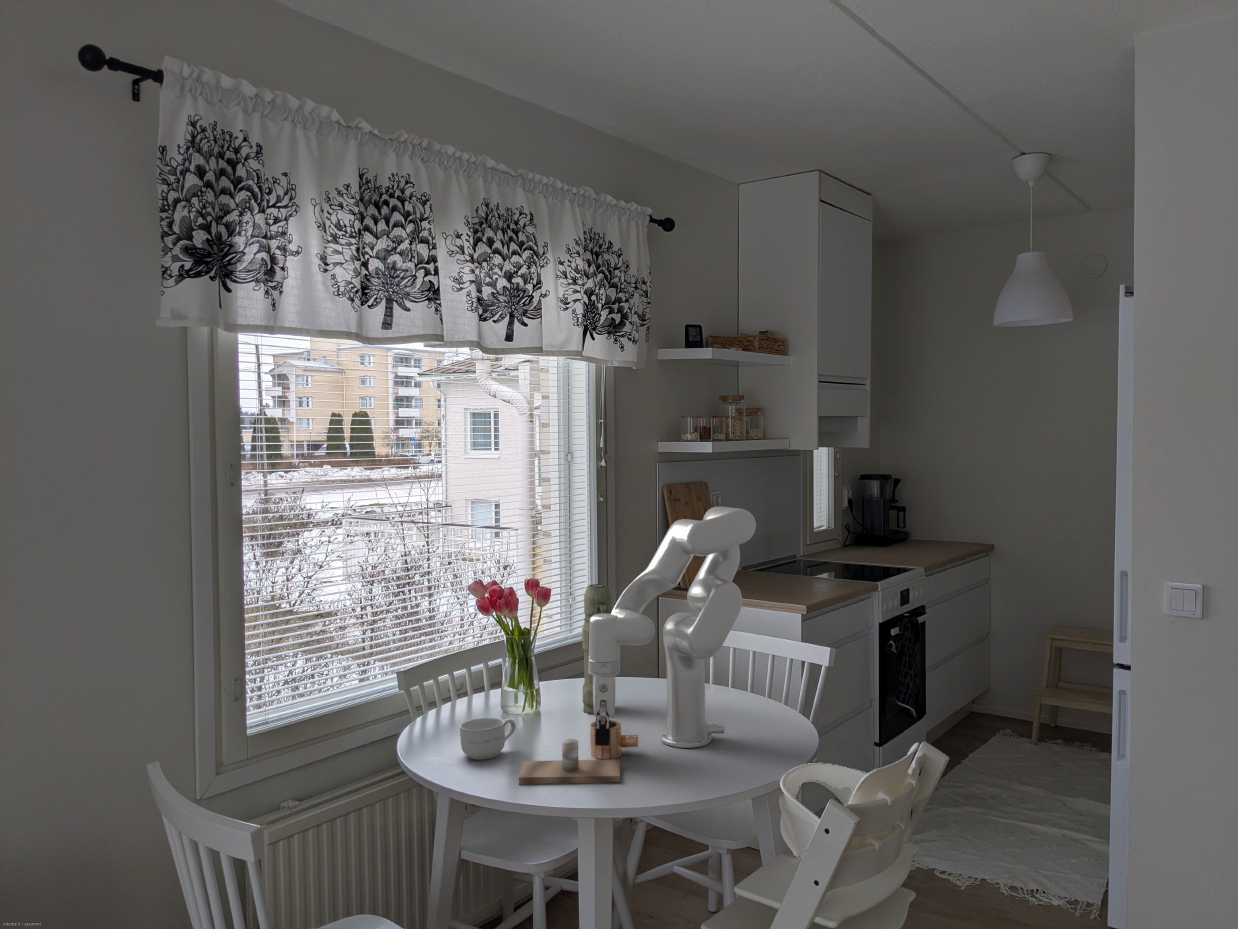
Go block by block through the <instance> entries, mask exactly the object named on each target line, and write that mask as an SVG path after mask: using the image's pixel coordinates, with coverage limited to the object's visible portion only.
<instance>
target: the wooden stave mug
mask: <svg viewBox="0 0 1238 929" xmlns="http://www.w3.org/2000/svg"><path fill="white" fill-rule="evenodd" d="M596 728H597V721H596V720H595V721H593V722H592V723H590V756H591V757H592V756H593V757H592V758H595V759H597V758H598V759H597V760H615V759H617V758H618V759H619V758H620V757H621V756H622V748H639V735H638V734H622V723H621V722H619V721H616V720H611V719H609V728H610V731H609V745H608V746H598V745H596V744H595V740H596Z"/></svg>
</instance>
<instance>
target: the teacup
mask: <svg viewBox="0 0 1238 929" xmlns="http://www.w3.org/2000/svg"><path fill="white" fill-rule="evenodd" d="M507 724H510V729H508V731H507V733H506V732H505V728H506V726H507ZM515 730H516V722H515V720H514V719H512V718H510V717H509V718H504V719H502V718H500V717H499V718H498V717H491V716H490V717H478V718H472V719H469V720H465V721H464V722H462V723H460V724H459V733H460V734H459V736H460V746H461V751H462V752H463V754H464V755H466V756H467V757H469V758H470V759H472V760H477V761H478V760H479V761H480V760H481V761H483V760H489V759H493V758H496V757H497V756H498V755H499V753H501V751H502V750H503V749H504V748H505V745H506V744H505V743H506V742H507V740H508V739H509V738H511V736H512V735H513V734H514V733H515Z"/></svg>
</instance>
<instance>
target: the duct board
mask: <svg viewBox="0 0 1238 929" xmlns="http://www.w3.org/2000/svg"><path fill="white" fill-rule="evenodd" d="M561 758H562V759H561V760H559V759H558V760H523V761H522V764H521V769H520V771H519V774H518V775H519V776H518V785H546V784H545V783H569V784H609V782H620V783H621V771H620V770H621V769H620V759H579V740H578V739H576V738H566V739H563V740H562V741H561Z"/></svg>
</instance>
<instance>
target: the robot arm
mask: <svg viewBox="0 0 1238 929" xmlns="http://www.w3.org/2000/svg"><path fill="white" fill-rule="evenodd" d="M756 528H757V523H756V519H755V516H753V514H752V513H751V512H750V511H749V510H746V509H744V508H738V507H728V506H713V507H711V508H709V509H707V511H706V512H705V514H704V515H703V519H702V520H697V519H687V518H682V519H677V520H675V521H674V522H673V523H672V524H671V525H670V526H669V528H668V530H667V532H666V534H665V535H664V537H663V539H662V541H661V543H660V544H659V546H658V548H657V550H656V551H655V553H654V555H653V557H652V558H651V561H650V562H649V564H648V566H646V568H645V570H643V571H642V572H641V573H640V574H639V575H638V576H637V577H636V578H634V580H633V581H631V583H630V584H629V585H627V587H626V588H625V589H624V590H623V592H622V593H621V595H620V596H619V598H618V600H617V601H616V603H615V605H614V607H613V608H612V609H611V614H595V615H593V616H592V617H591V618H590V622H589V659H588V673H589V674H591V675H593V706H594V715H593V716H594V717H595V721H597V728H596V740H595V744H596V745H598V746H608V745H609V731H610V728H609V721H610V718H611V719H614V718H615V716H616V676H617V675H619V674H620V671H621V667H620V665H621V645H622V646H623V645H626V646H633V647H634V646H635V647H639V646H645V645H647V644H649V643H650V642H651V641H652V640H653V639H654V637H655V633H656V627H655V626H656V625H655V623H654V622H653V621H652V619H651V618H650V617H648V616H647V615H645V614H642V613H643V612H644V611H645V608H646V607H647V605H649V603H650V602H651V601H652V600H653V599H655V598H656V597H657V596H660V595H661V594H664V593H666V592H668V591H671V590H672V589H674V588H676V587H677V586H678V584H679V583H680V581H681V579H682V578H683V575H684V574H685V572H686V570H687V569H688V567H689V565H690V562H691V561H692V559H693V557H694V556H698V557H704V556H705V558H704V561H703V563H702V564H701V567H700V568H699V570H698V572H697V574H696V575H695V577H694V579H693V581H692V583H691V584H690V587H689V589H688V591H687V594H686V595H687V596H686V598H687V600H686V601H687V603H688V605H689V606H690V607H691V608H692V609H693V610H695V611H696V612H699V614H698V615H695V614H693V613H689V612H676V613H673V614H672V615H671V616H669V617H668V618H667V619H666V621H665V623H664V625H663V628H662V640H663V641H662V642H663V646H664V651H665V653H664V654H665V660H666V662H665V663H666V730H665V731H662V732H661V734H660V740H661V741H662V743H663V744H665V745H667V746H671V747H673V748H674V747H675V748H680V749H681V748H682V749H687V748H688V749H691V748H699V747H705V746H707V745H709V744H710V743H711V742H712V737H713V736H712V734H717V735H719V734H720V735H721V734H725V725H719V723H709V722H707V719H706V684H705V682H706V681H705V680H706V669H705V660H708V659H711V658H713V657H714V656H716V655H717V654H718V653H719V651H720V650H721V649H722V647H723V645H724V643H725V642H726V639H727V638H728V636H729V634H730V632H731V630H732V628H733V626H734V625H735V622H736V620H737V618H738V617H739V614H740V612H741V609H742V604H743V596H742V591H741V589H740V587H739V586H738V585H737V584H736V583H734V582H733V579H734V578H735V577H736V573H737V571H738V570H739V567H740V566H739V565H740V562H741V552H740V545H742V544H744V543H746V542H748V541H749V540H751V539H752V537H753V536H754V534H755V532H756ZM599 714H600V715H599Z"/></svg>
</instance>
